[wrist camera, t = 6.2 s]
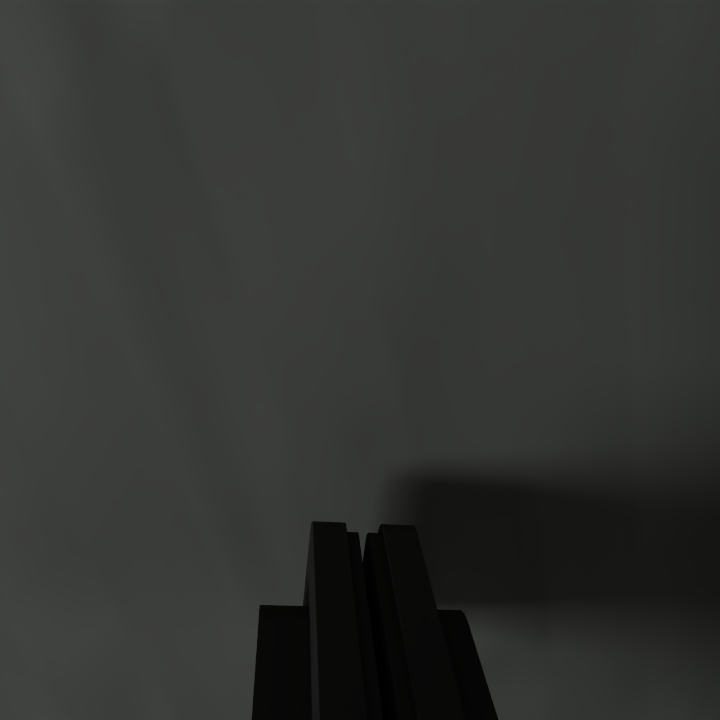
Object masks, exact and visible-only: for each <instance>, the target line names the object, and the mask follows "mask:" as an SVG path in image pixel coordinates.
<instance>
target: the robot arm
mask: <svg viewBox="0 0 720 720" xmlns="http://www.w3.org/2000/svg"><path fill="white" fill-rule="evenodd" d="M252 720H498V717H497V714H496V711H495V708H494V704H493V701H492V698H491V695H490V692H489V688H488V685H487V682H486V679H485V676H484V672H483V669H482V666H481V663H480V659H479V656H478V653H477V650H476V647H475V643H474V640H473V637H472V634H471V631H470V627H469V624H468V621H467V619H466V616H465V614H464V613H463V612H462V611H461V610H437V608H436V604H435V600H434V596H433V592H432V588H431V585H430V581H429V577H428V573H427V569H426V565H425V562H424V558H423V554H422V550H421V546H420V542H419V539H418V535H417V531H416V528H415V526H413V525H388V524H381V525H380V527H379V531H378V533H368V534H367V536H366V542H365V550H364V557H363V563H362V555H361V548H360V540H359V534H358V532H347V528H346V524H345V523H340V522H315V521H312V523H311V530H310V540H309V550H308V560H307V570H306V580H305V590H304V600H303V606H277V605H260V610H259V624H258V638H257V653H256V667H255V681H254V695H253V710H252Z"/></svg>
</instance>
